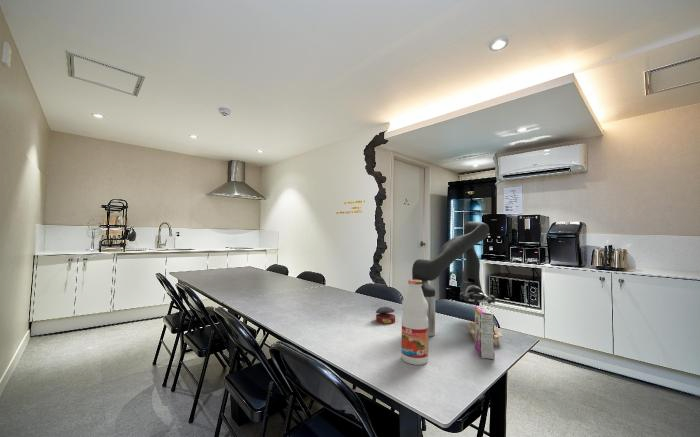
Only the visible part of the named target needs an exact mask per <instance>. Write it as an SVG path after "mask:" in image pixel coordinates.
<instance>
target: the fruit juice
mask: <svg viewBox="0 0 700 437" xmlns="http://www.w3.org/2000/svg"><path fill="white" fill-rule="evenodd" d="M421 286H422V281H421V280H412V279H408V289H407V292H406V295H405V297H404V299H403V300H402V304H401V306H402V311H403V312H402V313H403V314H402V317H401V349H400V350H401V352H400V353H401V354H400V355H401V359H402V360H403V361H404V362H405V363H407V364H410V365H412V366H415V365H416V366H423V365H425V364H427V363H428V362H429V337H428V327H429V324H428V317H427V311H428V303H427V301H426V299H425V297H424V295H423V292H422V288H421Z"/></svg>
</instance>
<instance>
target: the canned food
mask: <svg viewBox="0 0 700 437" xmlns="http://www.w3.org/2000/svg"><path fill="white" fill-rule="evenodd" d="M375 313H376V314H375V321H376V323H378V324H382V325H393V324H395V323H396V315H394V313H395V309H393V308H392V307H388V306H383V307H381V306H380V307H378V309H377V310H376V311H375Z"/></svg>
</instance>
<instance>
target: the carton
mask: <svg viewBox="0 0 700 437" xmlns="http://www.w3.org/2000/svg"><path fill="white" fill-rule="evenodd" d="M467 326H468V330H469V333H470V334H471V336H472V339H473V342H474V343H475V321H474V322H473V321H470V322H467ZM499 338H503V335H502V333H501V331H500V330H499V328H498V327H497V326H496V324H495V325H494V346H497V347H498V346H499Z"/></svg>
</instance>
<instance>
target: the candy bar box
mask: <svg viewBox="0 0 700 437" xmlns="http://www.w3.org/2000/svg"><path fill="white" fill-rule="evenodd" d="M494 316H495V315H494V313H493V312H492V311H491V310H490V308H489V307H488V306H479V305H474V322H475V344H474V345H475V349H476V351H477V352H478V355H479V357H480V358H481V359H483V360H484V359H485V360H495V345H494V324H495V317H494Z"/></svg>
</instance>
